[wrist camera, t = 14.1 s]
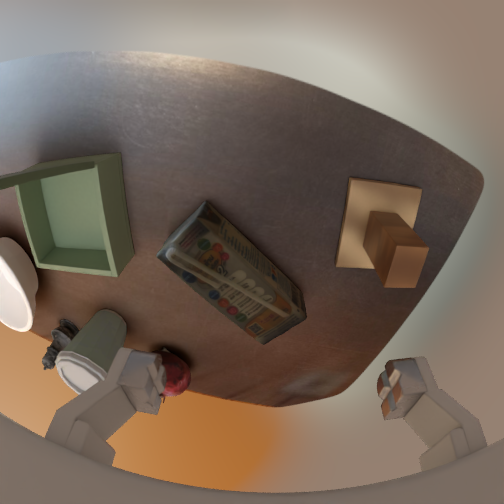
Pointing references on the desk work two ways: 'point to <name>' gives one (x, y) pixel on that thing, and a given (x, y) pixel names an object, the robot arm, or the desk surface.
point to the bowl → (16, 286)
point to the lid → (42, 173)
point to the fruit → (174, 374)
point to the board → (358, 209)
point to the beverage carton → (233, 275)
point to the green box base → (78, 217)
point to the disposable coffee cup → (92, 351)
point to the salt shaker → (59, 342)
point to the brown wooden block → (394, 250)
